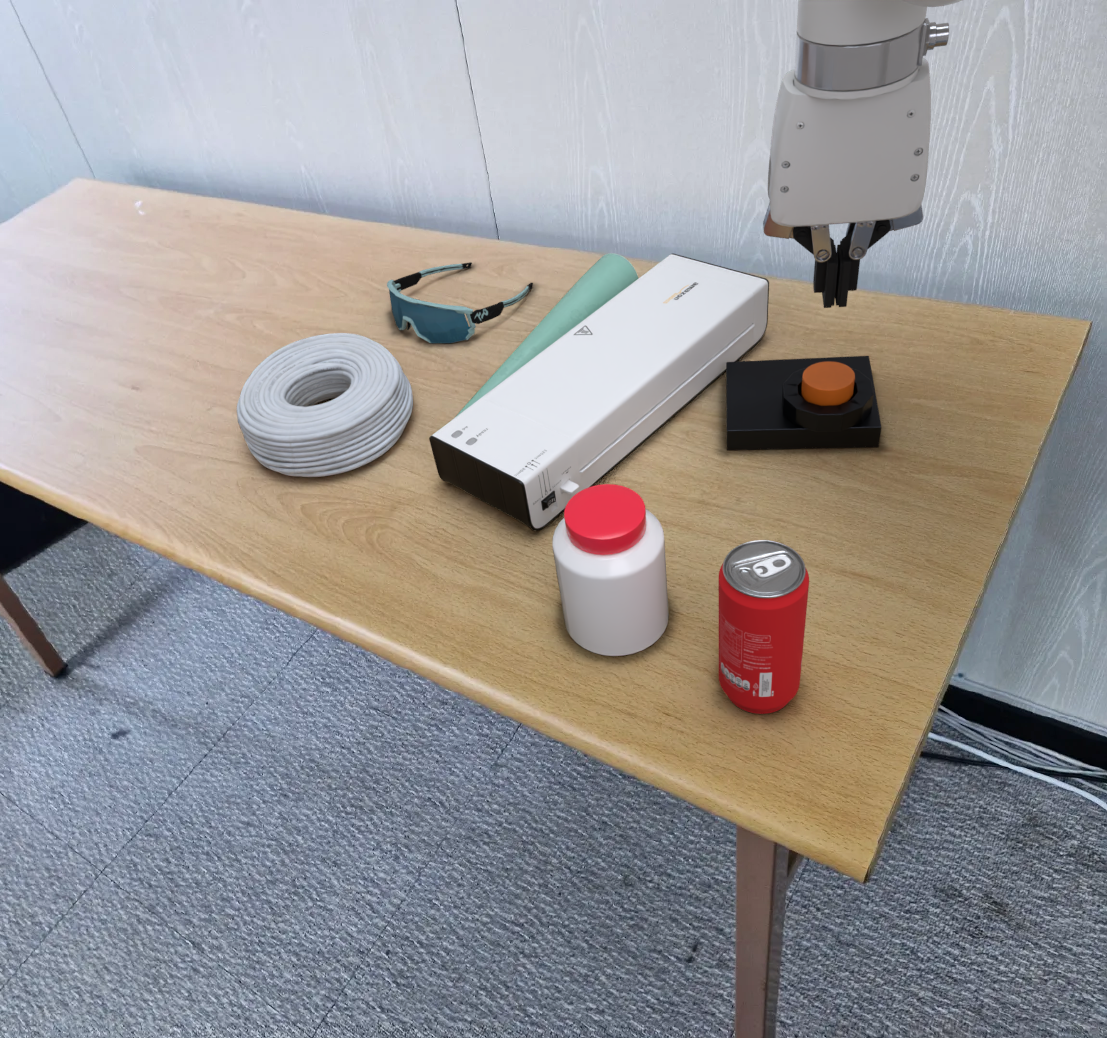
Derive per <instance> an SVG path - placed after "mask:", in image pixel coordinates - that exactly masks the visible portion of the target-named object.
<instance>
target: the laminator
mask: <svg viewBox="0 0 1107 1038" xmlns="http://www.w3.org/2000/svg"><path fill="white" fill-rule="evenodd" d="M769 298H770V281H769V279H767V278H766V277H763V276H758V275H755V274H751V273H747V272H743V271H739V270H737V269H732V268H728V267H725V266H721V265H719V264H718V265H717V264H714V263H711V262H706V261H704V260H699V259H696V258H691V257H687V256H684V255H681V254H678V253H670V254H668V255H667V256H666V257H665V258H664V259H662V260H661V261H659V262H658V263H657V264H655V265H654V266H653V267H651V268H650V269H649V270H647V271H646V272H645V273H643V274H642V275H641V276H639V277H638V279H637V280H636V281H635V282H633V283H632V284H631V285H629V286H628V287H627V288H625V289H624V290H623V291H621V292H620V293H619V294H617V295H616V296H615V297H613V298H612V299H611V300H609V301H608V302H607V303H606V304H604V305H603V306H602V307H600V308H599V309H598V310H596V311H595V312H594V313H592V314H591V315H590V316H588V317H587V318H586V319H584V320H583V321H582V322H580V323H579V324H578V325H577V326H575V327H574V328H573V329H571V330H570V331H569V332H567V333H566V334H565V335H563V336H562V337H561V338H559V339H558V340H557V341H555V342H554V343H553V344H551V345H550V346H549V347H547V348H546V349H545V350H544V351H542V352H541V353H540V354H538V355H537V356H536V357H534V358H533V359H532V360H530V361H529V362H528V363H526V364H525V365H524V366H522V367H521V368H520V369H518V370H517V371H516V372H515V373H513V374H512V375H511V376H509V377H508V378H507V379H505V380H504V381H503V382H501V383H500V384H499V385H497V386H496V387H495V388H493V389H492V390H491V391H489V392H488V393H487V394H485V395H484V396H483V397H482V398H480V399H479V400H478V401H476V402H475V403H474V404H472V405H471V406H470V407H468V408H467V409H466V410H464V411H463V412H462V413H460V414H459V415H458V416H456V415H455V416H454V417H453V418H452V419H451V420H450V421H449V422H447V423H446V424H445V425H443V426H442V427H440V428H439V429H438V430H437V431H435V432H434V433H433V434H431V435H430V436H429V438H428V440H429V444H430V448H431V453H432V455H433V460H434V464H435V468H436V471H437V475H438V477H439V478H440V480H441V481H443V482H444V483H449V484H450V485H452V486H453V487H456V488H458V489H459V490H460V491H463V492H465V493H467V494H469V495H471V496H472V497H474V498H476V499H478V500H479V501H481V502H483V503H485V504H487V505H489V506H490V507H493V508H494V509H496V510H498V511H500V512H502V513H503V514H505V515H507V516H509V517H511V518H513V519H515V521H518V522H520V523H522V524H524V525H526V526H527V527H529V528H530V529H531V530H532V531H535V532H538V531H541V530H543V529H545V527H547V526H548V525H549V524H551V523H552V522H553V521H554V520H555V519H557V518H558V517H559V516H561V514H563V513H564V511H565V507H566V505H567V503H568V502H569V500H570V499H571V498H572V497H573V496H574V495H576V494H577V493H578V492H580V491H582V490H584V489H586V488H589V487H591V486H595V485H597V483H599V481H601V479H603V478H604V477H605V476H606V475H607V474H609V473H610V472H611V471H612V470H613V469H614V468H615V467H617V465H619V464H620V463H621V462H623V461H624V460H625V459H626V458H627V457H628V456H629V455H630V454H632V453H633V452H634V451H635V450H636V449H638V448H639V447H640V446H641V445H642V444H643V443H645V441H646V440H648V439H649V438H650V437H651V436H653V435H654V434H655V433H656V432H657V431H658V430H659V429H660V428H662V427H663V426H664V425H665V424H666V423H668V422H669V421H670V420H671V419H672V418H673V417H674V416H675V415H677V414H678V413H679V412H680V411H681V410H682V409H684V408H685V407H686V406H687V405H688V404H689V403H691V402H692V401H693V400H694V399H695V398H696V397H697V396H699V395H700V394H701V393H703V391H704V390H706V389H707V388H708V387H709V386H710V385H711V384H712V383H714V382H715V381H716V380H717V379H718V378H719V377H721V376H722V375H723V374H724V373H726V363H727V362H738V361H740V359H742V358H743V357H744V356H745V355H746V354H747V353H748V352H750V351H751V350H752V349H753V348H754V347H755V346H756V345H758V343H760V341H761V340H762V339H763V337H764V336H765V334H766V331H767V328H768V322H769V301H770V300H769Z"/></svg>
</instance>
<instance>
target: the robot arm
mask: <svg viewBox="0 0 1107 1038" xmlns="http://www.w3.org/2000/svg"><path fill="white" fill-rule="evenodd" d="M960 2H963V0H798V1H797V18H796V19H797V21H796V34H795V35H796V37H795V52H794V53H795V54H794V55H795V56H794V69H791V70H789V71H787V72H786V73H785V74H784V75H783V76H782V79H781V82H780V85H779V89H778V93H777V99H776V104H775V108H774V114H773V120H772V121H773V122H772V128H771V138H770V148H769V156H768V157H769V158H768V170H767V171H768V172H767V196H768V202H769V203H768V206H767V208H766V211H765V215H764V218H763V221H762V226H763V227H762V231H763V234H764V235H765V236H767V237H770V238H778V239H786V240H789V239H791V240H795V242H797V243H798V244H799V245H800V246H802V248H804V249H805V250H807V251H808V252H809V253H810V254H811V255H812V256H813V258H814V266H813V267H814V268H813V278H812V279H813V281H812V287H813V288H812V289H813V293H814V294H820V293H821V296H822V304H823V305H822V306H823V309H830V308H832V307H834V306H838V308H846V307H847V306H848V297H849V296H848V295H849V292H851V291H852V292H853V291H857V289H858V281H859V274H860V264H861V259H864V257H865V256H866V255H867V252H868V250H869V249H870V248H871V247H872V246H874V245H876V243H878V242H879V241H880V240H881V239H883V238H884V237H885V236H886V235H888V234H889V233H890V232H892V231H893V232H896V231H900V230H903V229H907V228H910V227H914V226H917V225H919V224H921V223H923V220H924V212H923V206H922V204H923V201H924V197H925V192H926V187H927V178H928V167H929V155H930V140H931V125H932V124H931V121H932V114H931V113H932V90H931V73H930V65H929V61H928V60H927V58H925V57H926V56H927V53H928V51H932V50H934V49H935V48H939V47H946V46H947V45H948V44H949V43H948V42H949V37H950V23H949V22H943V23H937V22H936V21H932V22H930V20H929V17H927V11H928V8H937V7H938V8H939V7H945V6H950V5H953V4H956V3H960ZM841 224H843V225H844V224H848V225H847V228H846V232H845V236H844V237H843V238H842V239H841V240H839V244H835V240H834V238H832V237H831V234H830V233H831V232H830V225H841Z"/></svg>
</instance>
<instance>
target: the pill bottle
mask: <svg viewBox="0 0 1107 1038" xmlns="http://www.w3.org/2000/svg"><path fill="white" fill-rule="evenodd" d="M551 539H552V541H551V543H552V545H551V548H552V554H553V560H554V567H555V573H556V577H557V586H558V590H559V596H560V603H561V609H562V615H563V621H564V624H565V629H566V631H567V633H568V635H569V636H570V638H571V639H572V640H573V641H574V642H575V643H576V644H577V645H579V646H580V647H581V648H582V649H585V650H587V651H589V652H591V653H594V654H598V655H602V656H610V657H618V656H619V657H620V656H622V657H623V656H626V655H633V654H636V653H639V652H641V651H644V650H646V649H647V648H649V647H650V646H652V645H653V644H655V643H656V642H657V641H658V640H659V639H660V638H661V636H663V634H664V633H665V631H666V628H667V627H668V623H669V617H670V613H669V595H668V594H669V593H668V578H667V576H668V575H667V559H666V558H667V557H666V541H665V540H666V539H665V533H664V529H663V526H662V524H661V521H659V519H658V517H657V516H656V515H655V514H653V512H651V511H650V510H649V509H648V508H646V504H645V501H644V499H643V498H642V496H641V495H640V494H639V493H637V491H635V490H633V489H632V488H629V487H626V486H624V485H620V484H614V483H613V484H612V483H604V484H595V485H593V486H591V487H589V488H586V489H584V490H582V491H580V492H578V493H577V494H576V495H574V496H573V497H572V498H571V499H570V500H569V502H568V503H567V505H566V507H565V510H564V511H563V518H562V519H561V520H560V521H559V522H558V524H557V526H556V527H555V529H554V532H553V536H552V538H551Z"/></svg>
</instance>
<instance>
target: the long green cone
mask: <svg viewBox="0 0 1107 1038" xmlns="http://www.w3.org/2000/svg"><path fill="white" fill-rule="evenodd" d="M637 279H639V275H638V273H637V270H636V268H635V267H634V265H633V264H632V263H631V262H630V261H629V260H628V259H627V258H626V257H624V256H623V255H620V254H618V253H613V252H609V253H605V254H603V255H602V256H601V257H600V258H599V259H598V260H597V261H595V263H594V264H593V265H592V266H591V267H590V268H589V269H588V270H587V271H585V272H584V274H583V275H582V276H581V277H580V278H579V279H578V280H577V281H576V282H575V283H574V284H573V285H572V287H571V288H570V289H569V290H568V291H567V292H566V293H565V294H564V295H563V296H562V297H561V299H560V300H558V302H557V303H556V304H555V305H554V306H553V308H551V310H550V311H549V312H548V313H547V314H546V315H545V316H544V317H543V319H541V321H540V322H539V323H538V324H537V325H536V326H535V328H533V330H532V331H531V332H530V333H529V334H528V335H527V336H526V337H525V338H524V339H523V340H522V342H521V343H520V344H519V345H518V346H517V347H516V348H515V350H514V351H513V352H512V353H511V354H510V355H509V356H508V357H507V359H506V360H505V361H503V363H502V364H501V365H500V366H499V367H498V368H497V369H496V370H495V372H494V373H493V374H491V376H490V377H489V378H488V380H487V381H486V382H484V384H483V385H482V386H481V387H480V388H479V390H478V391H477V392H476V393H475V394H474V395H472V397H471V398H470V399H469V400H468V402H467V403H465V405H464V406H463V407H462V408H461V409H460V411H459V412H458V413H457V414H456V415H455V417H456V416H458V415H459V414H460V413H462V412H463V411H464V410H466V409H467V408H468V407H470V406H471V405H472V404H474V403H475V402H476V401H478V400H479V399H480V398H482V397H483V396H484V395H485V394H487V393H488V392H489V391H491V390H492V389H493V388H495V387H496V386H497V385H499V384H500V383H501V382H503V381H504V380H505V379H507V378H508V377H509V376H511V375H512V374H513V373H515V372H516V371H517V370H518V369H520V368H521V367H522V366H524V365H525V364H526V363H528V362H529V361H530V360H532V359H533V358H534V357H536V356H537V355H538V354H540V353H541V352H542V351H544V350H545V349H546V348H547V347H549V346H550V345H551V344H553V343H554V342H555V341H557V340H558V339H559V338H561V337H562V336H563V335H565V334H566V333H567V332H569V331H570V330H571V329H573V328H574V327H575V326H577V325H578V324H579V323H580V322H582V321H583V320H584V319H586V318H587V317H588V316H590V315H591V314H592V313H594V312H595V311H596V310H598V309H599V308H600V307H602V306H603V305H604V304H606V303H607V302H608V301H609V300H611V299H612V298H613V297H615V296H616V295H617V294H619V293H620V292H621V291H623V290H624V289H625V288H627V287H628V286H629V285H631V284H632V283H633V282H635V281H636V280H637Z"/></svg>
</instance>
